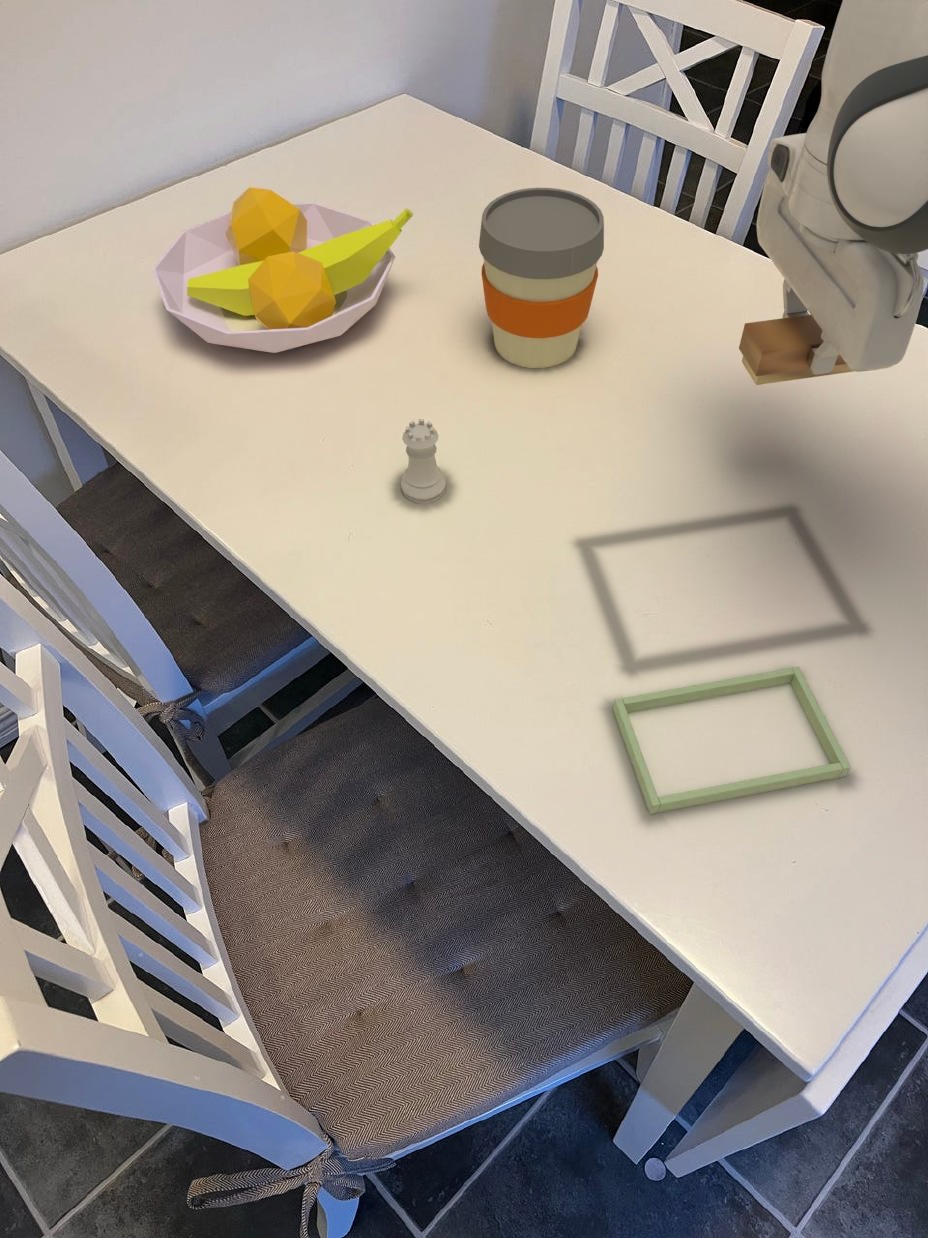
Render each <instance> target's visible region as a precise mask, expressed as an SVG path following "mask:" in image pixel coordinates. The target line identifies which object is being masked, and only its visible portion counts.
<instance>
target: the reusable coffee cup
mask: <svg viewBox="0 0 928 1238" xmlns="http://www.w3.org/2000/svg"><path fill="white" fill-rule="evenodd" d="M478 239H479V240H478V241H479V242H478V249H479V252H480V254H481V256H482V258H483V264H482V265H481V280H482V286H483V288H482V289H483V294H484V303H485V310H486V313H487V316H488V318H489V320H490V321H491V326H492V335H493V341H494V346H495V349H496V351H497V353H498V355H500V357H502V359H504V360H505V361H507V362H508V363H511V364H512V365H515V366H519V367H522V368H528V369H546V368H551V367H556V366H558V365H561V364H563V363H564V362H566V361H568V360H570V358H571V357H572V356H573V355H574V354H575V352H576V349H577V345H578V342H579V337H580V334H581V330H582V326H583V324H584V323H585V322H586V320H587V318H588V317H589V313H590V309H591V305H592V302H593V298H594V294H595V289H596V286H597V281H598V278H599V268H598V266H597V265H598V262H599V260H600V259H601V257H602V256H603V252H604V249H605V219H604V214H603V212H602V209H600V208H599V206H598V205H597V204H596V203H595V202H594V201H592V200H591V199H590V198H587V197H586V196H583V195H582V194H579V193H576V192H574V191H570V190H566V189H562V188H553V187H528V188H522V189H517V190H513V191H510V192H506V193H503V194H502V195H499V196H497V197H496V198H494V199H493V200H492V201H490V202H489V203H488V204H487V205H486V206H485V208H484V210H483V212H482V215H481V222H480V232H479V238H478Z"/></svg>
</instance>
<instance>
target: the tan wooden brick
mask: <svg viewBox="0 0 928 1238" xmlns="http://www.w3.org/2000/svg"><path fill="white" fill-rule="evenodd" d="M821 334H822V329H821V328H820V326H819V325H818V324H817V322H816V321H815V320H814V318H813V317H812V315H811V314H809V315H804V316H797V317H789V318H782V317H781V318H776V319H775V318H774V319H767V320H760V321H753V322H752V321H751V322H744V326H743V330H742V334H741V338H740V341H739V346H738V350H739V351H740V353H741V354H742V359H741V364H742V365H743V366H744V368H745V369H746V371H747V373H748V374H749V376H750V378H751V379H752V381H753V383H754V384H755V385H756V386H760V385H767V384H775V383H782V382H788V381H797V380H802V379H811V378H817V377H824V376H831V375H833V376H834V375H839V374H840V375H841V374H847V373H855V372H854V371H852V370H851V369H850V368H849V366H848V365H847V364H846V362H845V361H844V359H843V358H842V357H841V355H838V357H837V360H836V362H835V365H834V368H833V370H832V371H831V372H829V373H825V374H818V375H815V374H813V373H812V371H811V370H810V368H809V366H808V365H807V363H806V359H807V358H808V353H809V350H810V347H815V346H820V345H821V344H822V343H823V342H824V340H822V339H821Z"/></svg>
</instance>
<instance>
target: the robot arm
mask: <svg viewBox="0 0 928 1238" xmlns="http://www.w3.org/2000/svg"><path fill="white" fill-rule="evenodd" d="M806 130H807V131H806V132H804V133H803V132H802V133H796V134H790V135H783V136H780V137H774V138H773V139H772V140H771V142H770V145H769V148H768V153H767V165H768V168H769V171H768V172H767V174H766V177H765V179H764V183H763V188H762V193H761V197H760V203H759V207H758V213H757V219H756V236H757V242H758V244H759V246H760V247H761V248H762V250H763V251H764V252H765V254H766V255H767V256H768V258H769V260H770V261H771V262H772V263H773V265H774V266H775V268H776V269H777V270H778V272H779V273H780V274H781V277H783V278H784V279H783V283H782V299H783V302H782V303H783V314H782V317H781V319H782V318H789V317H797V316H804V315H812V317H813V318H814V320H815V321H816V322H817V324H818V325H819V326H820V328H821V329H822V334H821V339H822V340H824V342H823V343H822V344H821V345H820V346H815V347H810V350H809V353H808V358H807V359H806V363H807V365H808V366H809V368H810V370H811V371H812V373H813V374H815V375H818V374H825V373H829V372H831V371H832V370H833V368H834V365H835V362H836V360H837V357H838V355H841V357H842V358H843V359H844V361H845V362H846V364H847V365H848V366H849V368H850V369H851V370H852V371H854V372H853V373H863V372H872V371H879V370H885V369H889V368H892V367H894V366H896V365H898V364H899V363H901V362H902V360H903V359H904V357H905V355H906V353H907V350H908V347H909V344H910V341H911V339H912V336H913V332H914V330H915V326H916V323H917V319H918V316H919V311H920V310H921V309H920V308H921V305H922V300H923V295H924V287H925V282H924V281H925V280H924V275H923V272H922V269H921V267H920V266H919V264H918V262H917V261H918V260H919V253H921V252H924V251H927V250H928V0H842V2H841V5H840V8H839V11H838V14H837V17H836V21H835V23H834V26H833V30H832V35H831V38H830V40H829V44H828V48H827V52H826V55H825V59H824V63H823V67H822V71H821V96H820V102H819V105H818V108H817V111H816V113H815V115H814V117H813V119H812V121H811V122H810V124H809V126H808V128H807V129H806Z"/></svg>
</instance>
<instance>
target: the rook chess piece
mask: <svg viewBox="0 0 928 1238" xmlns="http://www.w3.org/2000/svg"><path fill="white" fill-rule="evenodd" d="M439 435H440V434H439V433H438V431H437V430H436V429H435V427H434V426H433V423H432V422H431V421H429V420H428V421H427V422H426V423H425V419H422V418H421V419H420V418H419V419H418V422H417V423H416V422H415V421H414V420H411V421H409V422H408V425H406V426H405V431H404V432H403V433H402V438H401V439H402V441H403V443H404V445H405V446H406V448H405V453H406V455H407V456H408V464H407V468H405V471H404V473H403V475H402V477H401V481H400V487H401V490H402V493H403V496H404V498H406V499H407V500H409V501H411V502H413V503H416V504H424V505H425V504H430V503H435V502H436V501H437V500H439V499H441V498H442V497H443V495H444V494H445V492H446V484H447V479H446V478H445V475H444V473H443V471H442V470H441V469H440V467H439V466H438V464H437V459H436V455H435V454H436V453H437V450H438V449H437V446H436V443H437V442H438V441H439Z"/></svg>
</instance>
